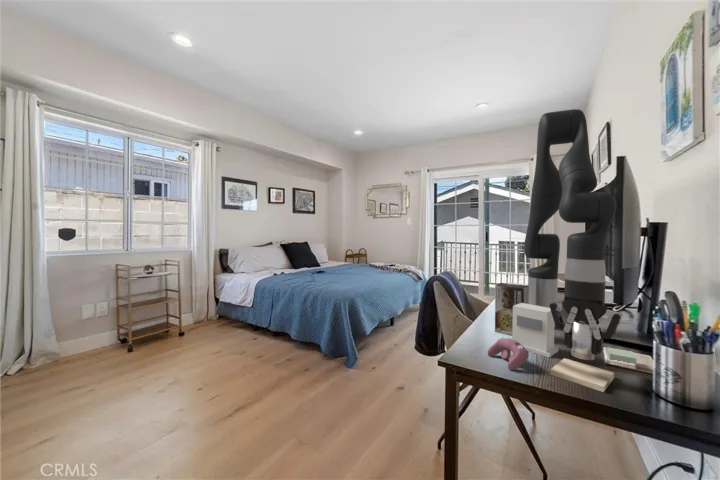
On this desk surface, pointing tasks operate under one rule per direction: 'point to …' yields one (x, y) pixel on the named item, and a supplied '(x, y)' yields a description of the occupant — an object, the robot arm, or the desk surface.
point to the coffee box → (508, 304)
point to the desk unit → (534, 329)
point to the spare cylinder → (582, 341)
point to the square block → (621, 355)
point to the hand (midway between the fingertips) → (582, 350)
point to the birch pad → (583, 374)
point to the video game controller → (506, 347)
